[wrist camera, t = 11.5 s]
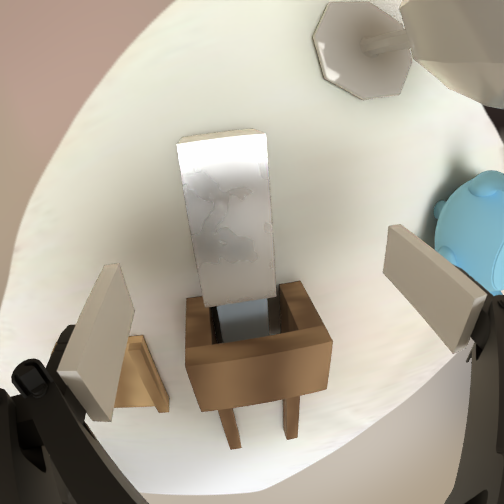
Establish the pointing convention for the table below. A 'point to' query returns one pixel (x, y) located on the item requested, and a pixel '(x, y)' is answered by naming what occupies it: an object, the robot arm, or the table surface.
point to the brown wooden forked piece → (258, 362)
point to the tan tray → (139, 379)
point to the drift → (244, 320)
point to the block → (229, 214)
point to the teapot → (474, 229)
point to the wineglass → (414, 47)
